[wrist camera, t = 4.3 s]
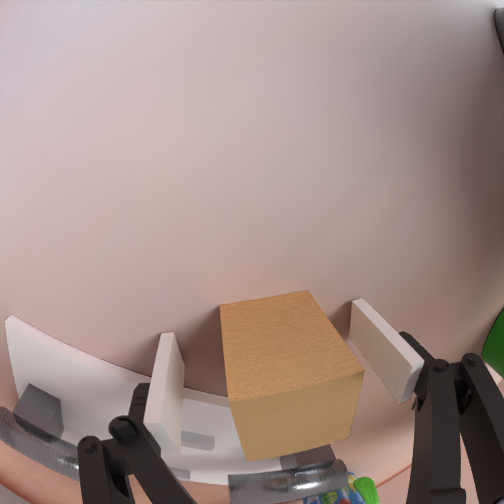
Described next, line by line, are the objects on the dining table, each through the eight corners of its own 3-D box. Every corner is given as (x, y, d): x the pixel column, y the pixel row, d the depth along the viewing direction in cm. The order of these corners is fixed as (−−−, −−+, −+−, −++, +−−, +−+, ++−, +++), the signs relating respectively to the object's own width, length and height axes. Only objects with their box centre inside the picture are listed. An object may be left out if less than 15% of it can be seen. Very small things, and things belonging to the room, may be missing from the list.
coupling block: (219, 304, 15) (228, 401, 8) (307, 289, 15) (364, 370, 9) (232, 370, 17) (246, 462, 10) (307, 355, 17) (347, 437, 10)
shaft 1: (21, 406, 15) (1, 447, 9) (12, 373, 13) (-16, 418, 8) (122, 451, 17) (115, 500, 12) (127, 426, 16) (117, 484, 11)
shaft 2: (333, 425, 19) (356, 474, 14) (319, 453, 20) (336, 496, 15) (224, 438, 18) (231, 497, 12) (225, 464, 19) (231, 514, 14)
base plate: (11, 314, 13) (-3, 328, 11) (341, 411, 20) (349, 427, 18) (30, 418, 16) (24, 431, 15) (269, 480, 23) (273, 493, 21)
